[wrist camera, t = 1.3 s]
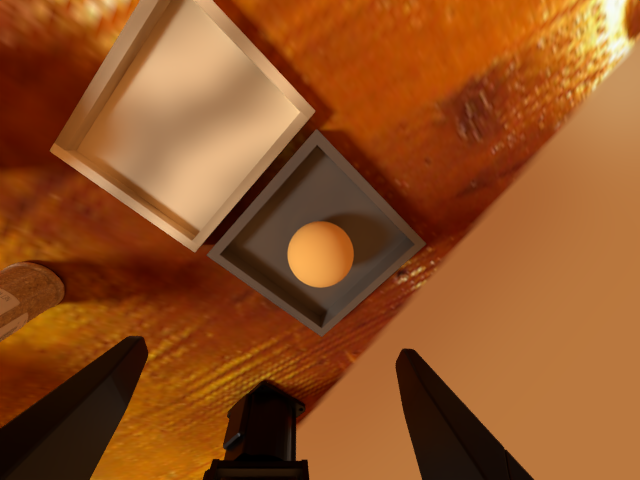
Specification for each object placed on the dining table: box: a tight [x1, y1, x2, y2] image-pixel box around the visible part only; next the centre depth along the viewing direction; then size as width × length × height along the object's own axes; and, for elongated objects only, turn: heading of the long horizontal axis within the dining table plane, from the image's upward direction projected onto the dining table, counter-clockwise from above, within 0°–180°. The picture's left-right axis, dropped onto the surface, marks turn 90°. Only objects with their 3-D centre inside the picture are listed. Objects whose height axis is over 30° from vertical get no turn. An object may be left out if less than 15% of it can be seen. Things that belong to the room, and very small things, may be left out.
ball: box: [288, 221, 354, 288], centre depth 19 cm, size 5×5×5 cm
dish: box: [206, 129, 426, 337], centre depth 21 cm, size 12×12×2 cm
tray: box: [50, 0, 315, 252], centre depth 17 cm, size 11×14×2 cm
